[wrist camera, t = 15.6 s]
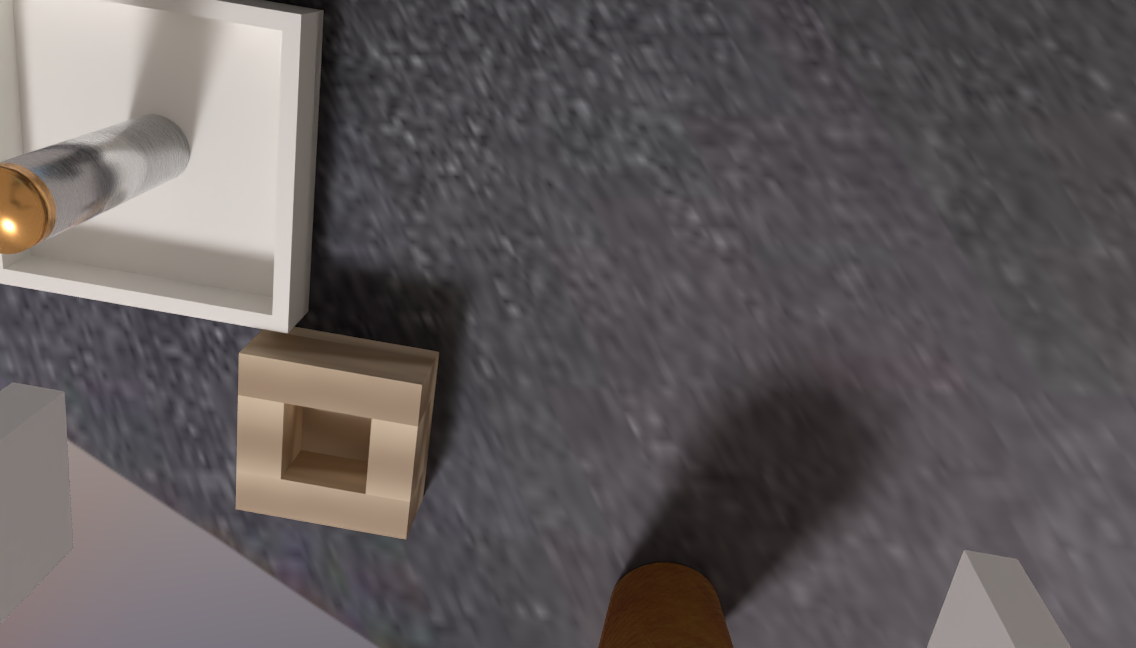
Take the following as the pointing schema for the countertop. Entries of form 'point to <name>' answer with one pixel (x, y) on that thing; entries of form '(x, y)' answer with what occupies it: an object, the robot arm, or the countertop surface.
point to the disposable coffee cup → (664, 610)
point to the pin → (85, 178)
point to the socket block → (334, 429)
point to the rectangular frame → (216, 140)
